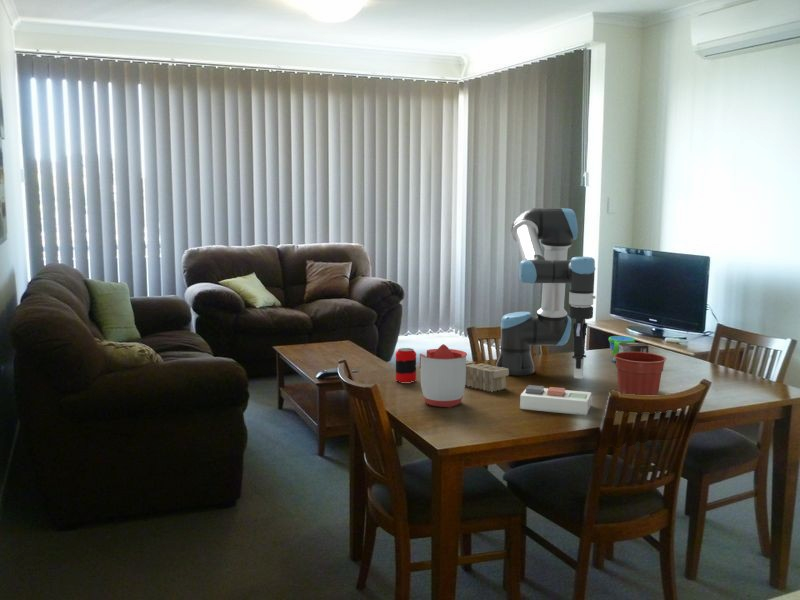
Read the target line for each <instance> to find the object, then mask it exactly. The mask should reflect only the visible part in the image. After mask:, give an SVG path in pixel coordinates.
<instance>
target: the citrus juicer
mask: <svg viewBox="0 0 800 600" xmlns="http://www.w3.org/2000/svg"><path fill="white" fill-rule="evenodd" d="M467 353H468V352H466V351H464V350H461V349H460V350H459V349H452V348H449V347H448V346H447V345H446V344H441V345H440V346H439V347H438V348H433V349H426V355H425V354H423V353H419V362H416V368H417V367H419V369H420V386H421V391H422V395H423V400H424V402H425V403H426V404H427V405H428V404H429V405H428V406H433V407H445V408H451V407H454V406H457V405H460V404H461V402H462V401H463V397H464V392H465V388H466V386H465V384H466V361H467V356H468V354H467Z"/></svg>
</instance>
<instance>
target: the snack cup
mask: <svg viewBox="0 0 800 600" xmlns="http://www.w3.org/2000/svg"><path fill="white" fill-rule="evenodd" d="M608 342H609V348H610V351H609V352H610V358H611V362H613V363H615V364H616V358H615V357H614V354H616V353H619V343H636V338H634V337H632V336H627V335H626V336H624V335H612V336H609V337H608Z"/></svg>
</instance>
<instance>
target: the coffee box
mask: <svg viewBox="0 0 800 600" xmlns="http://www.w3.org/2000/svg"><path fill="white" fill-rule="evenodd" d="M649 347H650V346H649V345H648V344H646V343H645V342H635V343H619V353H620V352H646V353H649Z"/></svg>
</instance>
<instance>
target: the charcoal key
mask: <svg viewBox="0 0 800 600" xmlns="http://www.w3.org/2000/svg"><path fill="white" fill-rule="evenodd" d="M544 388H545V386H544V385H533V384H532V385H531V384H529V385H527V386H526V388H525V389H526V393H528V394H539V395H542V394H543V392H544Z"/></svg>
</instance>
